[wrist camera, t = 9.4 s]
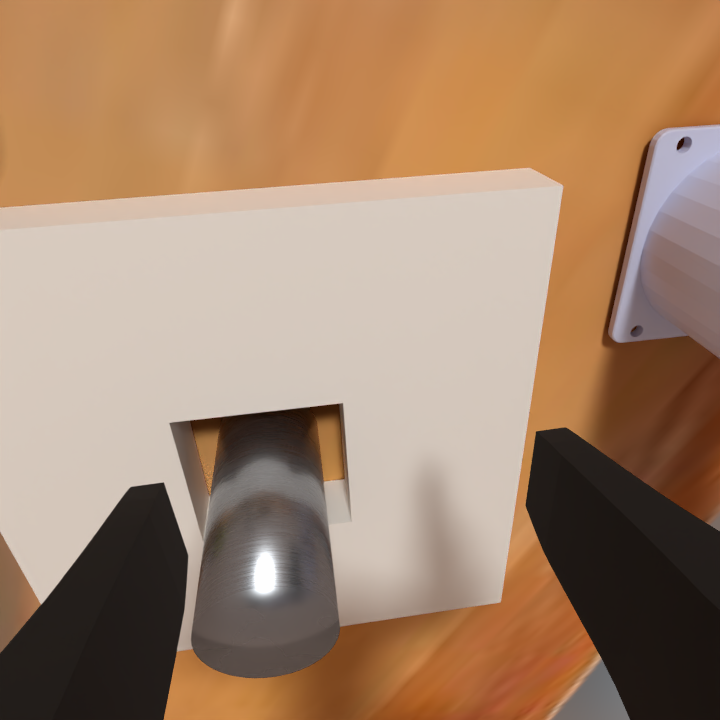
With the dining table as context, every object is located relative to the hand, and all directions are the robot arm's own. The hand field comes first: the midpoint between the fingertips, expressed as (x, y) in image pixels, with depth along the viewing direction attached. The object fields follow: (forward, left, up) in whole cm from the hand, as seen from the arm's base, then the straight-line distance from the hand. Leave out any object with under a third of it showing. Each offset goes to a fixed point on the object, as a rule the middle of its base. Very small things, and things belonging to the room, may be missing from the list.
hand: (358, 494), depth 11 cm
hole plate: (+3, +6, -10) cm, 12 cm away
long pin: (+3, +6, -10) cm, 12 cm away
